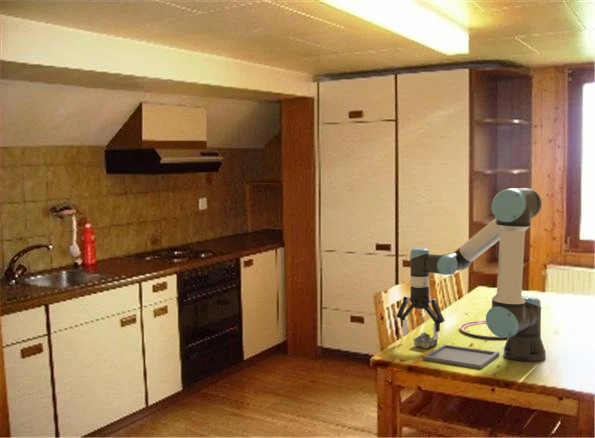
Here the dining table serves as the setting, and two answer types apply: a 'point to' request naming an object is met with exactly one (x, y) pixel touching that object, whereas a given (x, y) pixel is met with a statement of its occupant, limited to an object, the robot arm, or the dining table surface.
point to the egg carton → (424, 341)
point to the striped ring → (465, 325)
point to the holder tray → (461, 356)
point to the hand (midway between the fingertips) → (420, 337)
